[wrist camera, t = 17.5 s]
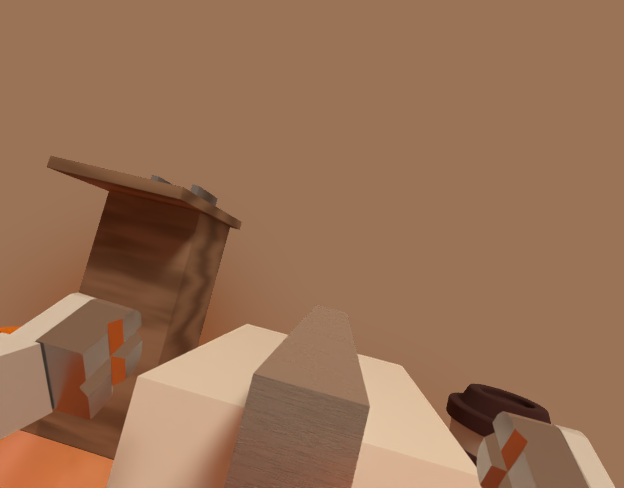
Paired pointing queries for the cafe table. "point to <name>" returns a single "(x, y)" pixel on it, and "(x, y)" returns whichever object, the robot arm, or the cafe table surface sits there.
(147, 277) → the walnut stand
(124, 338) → the robot arm
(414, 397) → the cream tilted cube
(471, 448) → the coffee cup
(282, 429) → the brushed metal block
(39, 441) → the cafe table surface
